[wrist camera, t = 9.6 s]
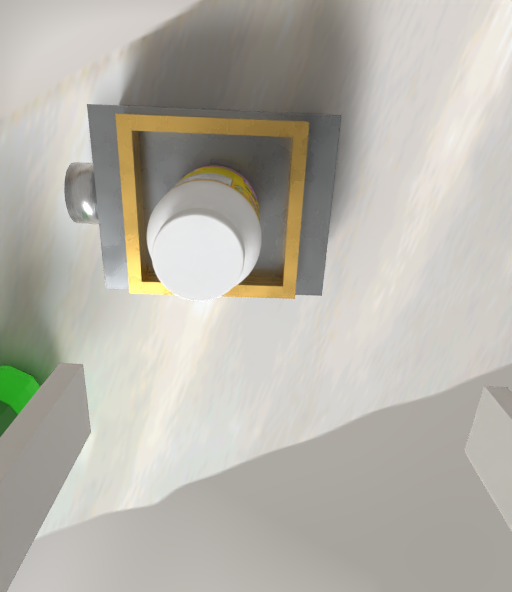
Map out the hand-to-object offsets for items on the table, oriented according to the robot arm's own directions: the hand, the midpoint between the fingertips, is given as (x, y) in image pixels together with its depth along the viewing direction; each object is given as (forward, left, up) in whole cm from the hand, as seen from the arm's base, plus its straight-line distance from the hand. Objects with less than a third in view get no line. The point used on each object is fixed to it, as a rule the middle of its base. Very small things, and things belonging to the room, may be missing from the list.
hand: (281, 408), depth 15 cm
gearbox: (+5, -2, -30) cm, 30 cm away
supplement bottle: (+4, -2, -22) cm, 22 cm away
